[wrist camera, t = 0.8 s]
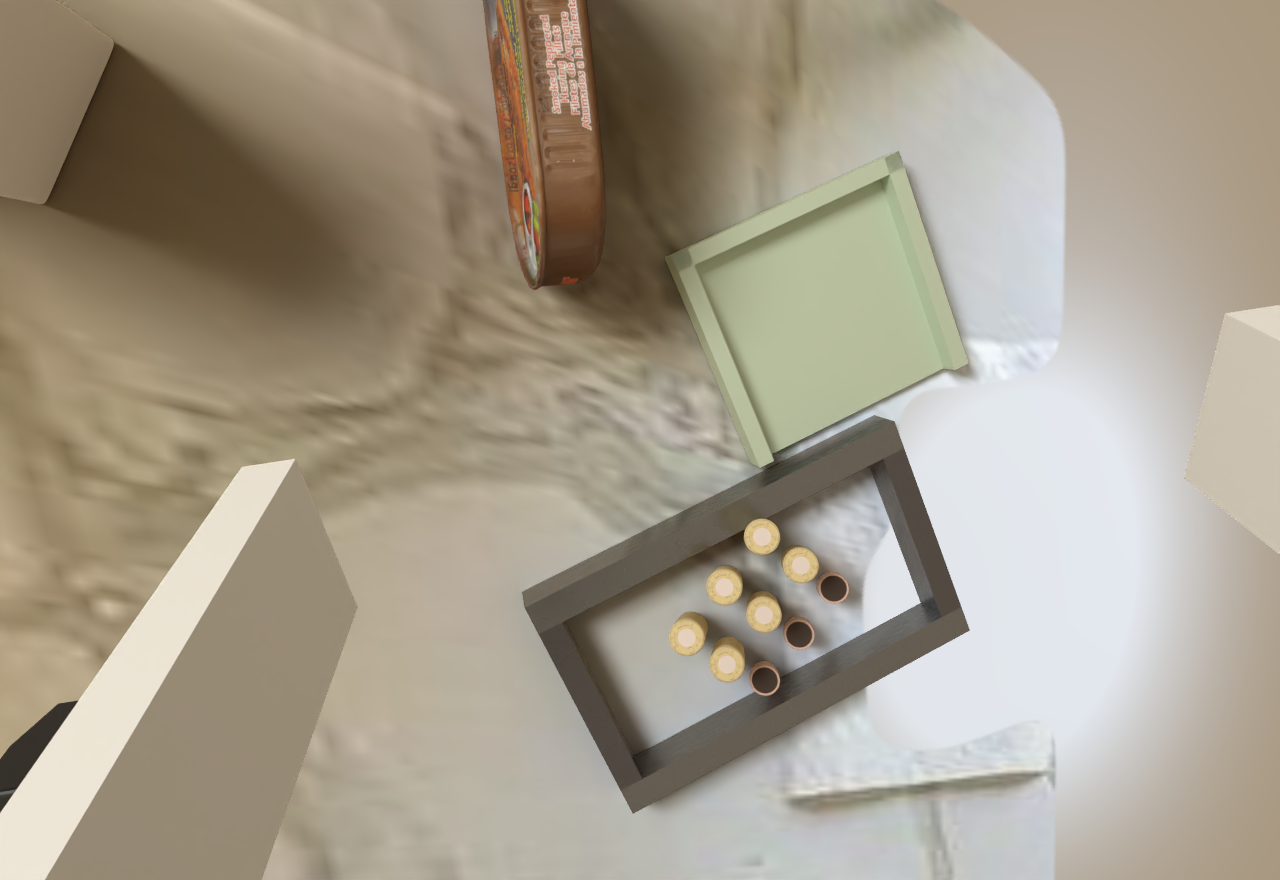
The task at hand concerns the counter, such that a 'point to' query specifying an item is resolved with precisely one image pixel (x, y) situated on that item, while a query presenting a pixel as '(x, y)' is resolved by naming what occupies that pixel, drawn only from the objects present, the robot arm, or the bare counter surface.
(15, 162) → the milk carton
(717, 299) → the tray pad
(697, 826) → the counter surface
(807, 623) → the ammunition
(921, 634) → the gray rectangular frame
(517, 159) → the tin
